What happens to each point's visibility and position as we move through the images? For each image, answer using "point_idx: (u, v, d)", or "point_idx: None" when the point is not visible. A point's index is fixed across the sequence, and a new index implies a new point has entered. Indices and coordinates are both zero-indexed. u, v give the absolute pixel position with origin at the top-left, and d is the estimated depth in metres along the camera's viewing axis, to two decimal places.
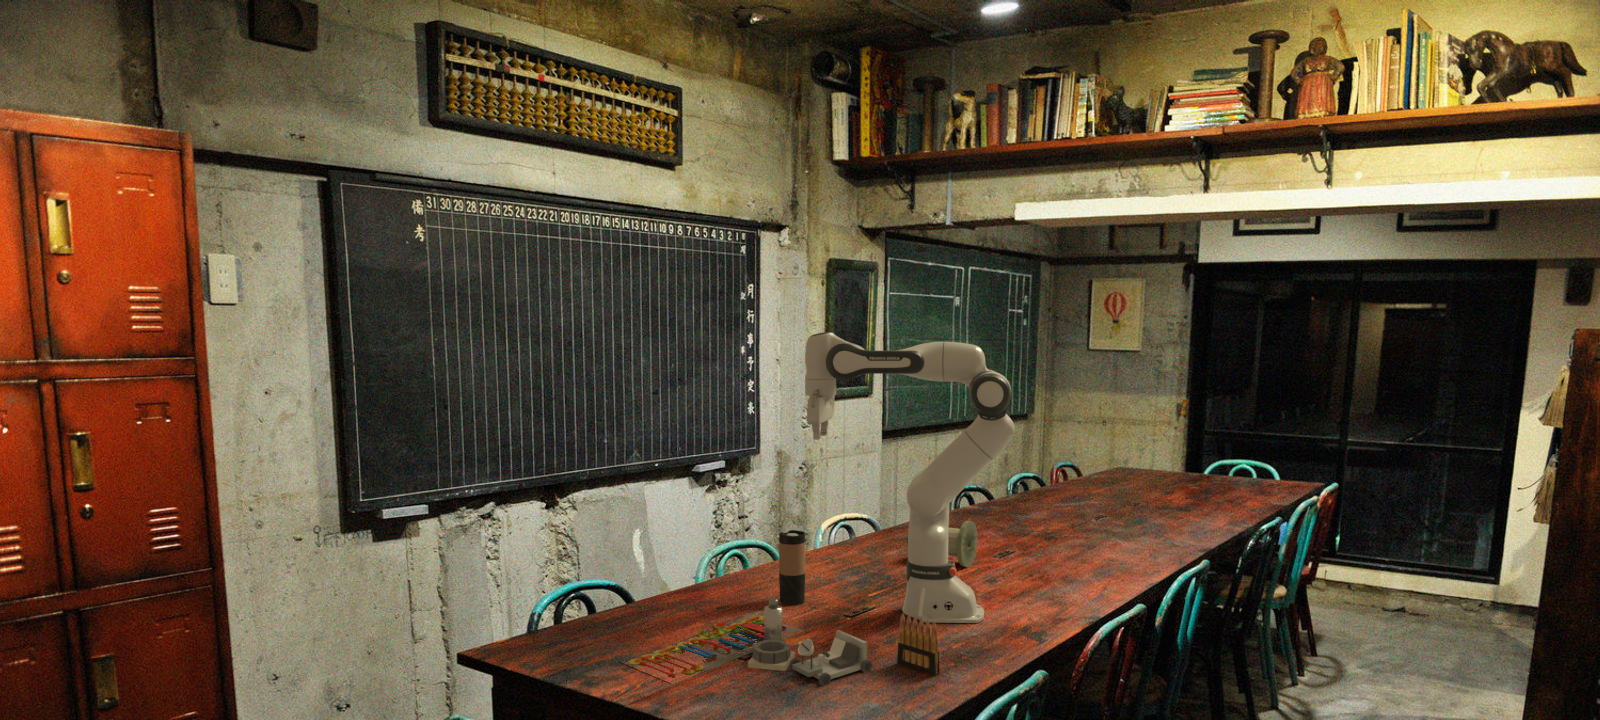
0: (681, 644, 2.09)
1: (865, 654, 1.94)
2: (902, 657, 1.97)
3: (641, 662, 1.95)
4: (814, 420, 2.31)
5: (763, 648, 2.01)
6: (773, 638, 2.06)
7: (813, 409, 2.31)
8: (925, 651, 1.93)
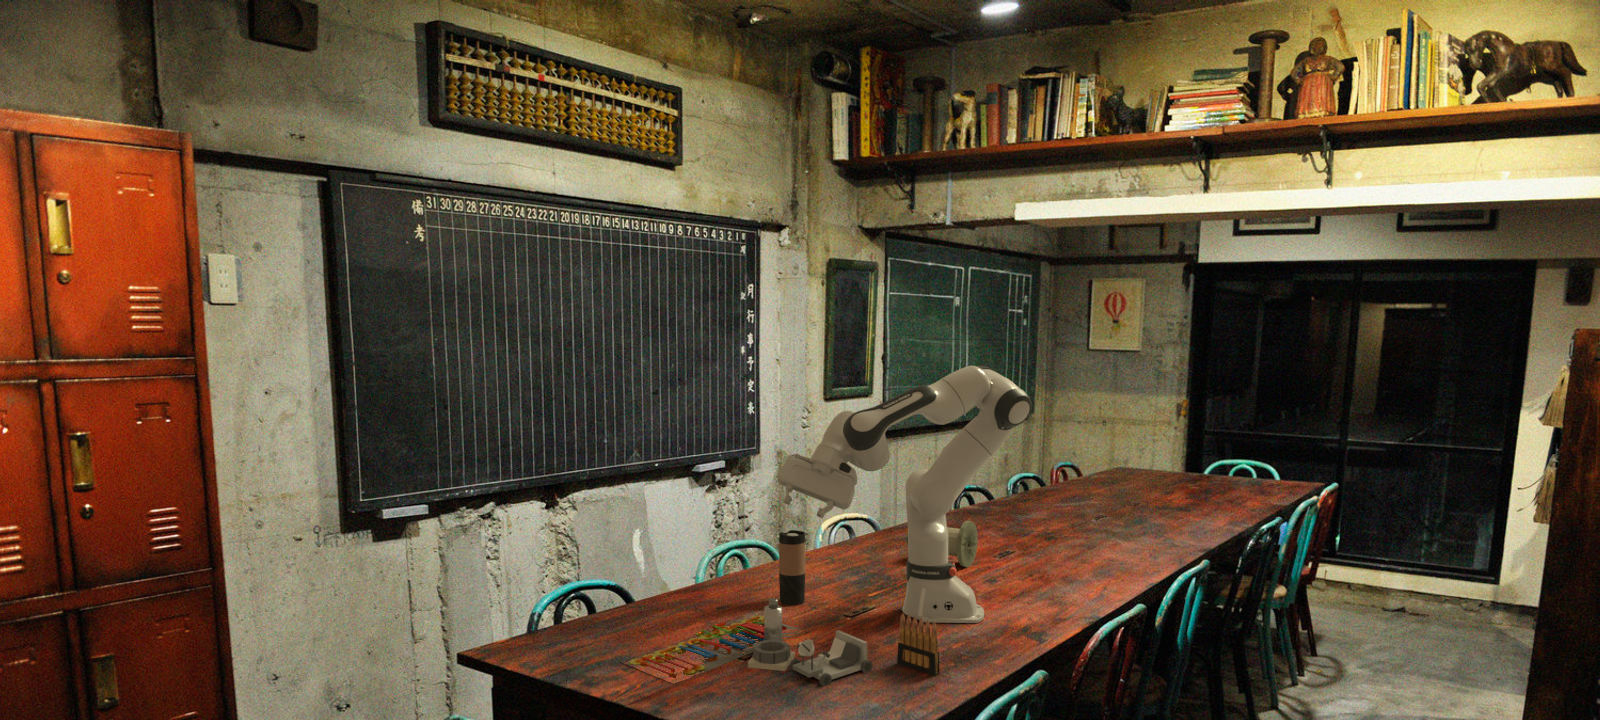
0: (682, 644, 2.08)
1: (865, 654, 1.94)
2: (902, 657, 1.97)
3: (642, 662, 1.95)
4: None
5: (763, 648, 2.01)
6: (773, 638, 2.06)
7: None
8: (925, 651, 1.93)
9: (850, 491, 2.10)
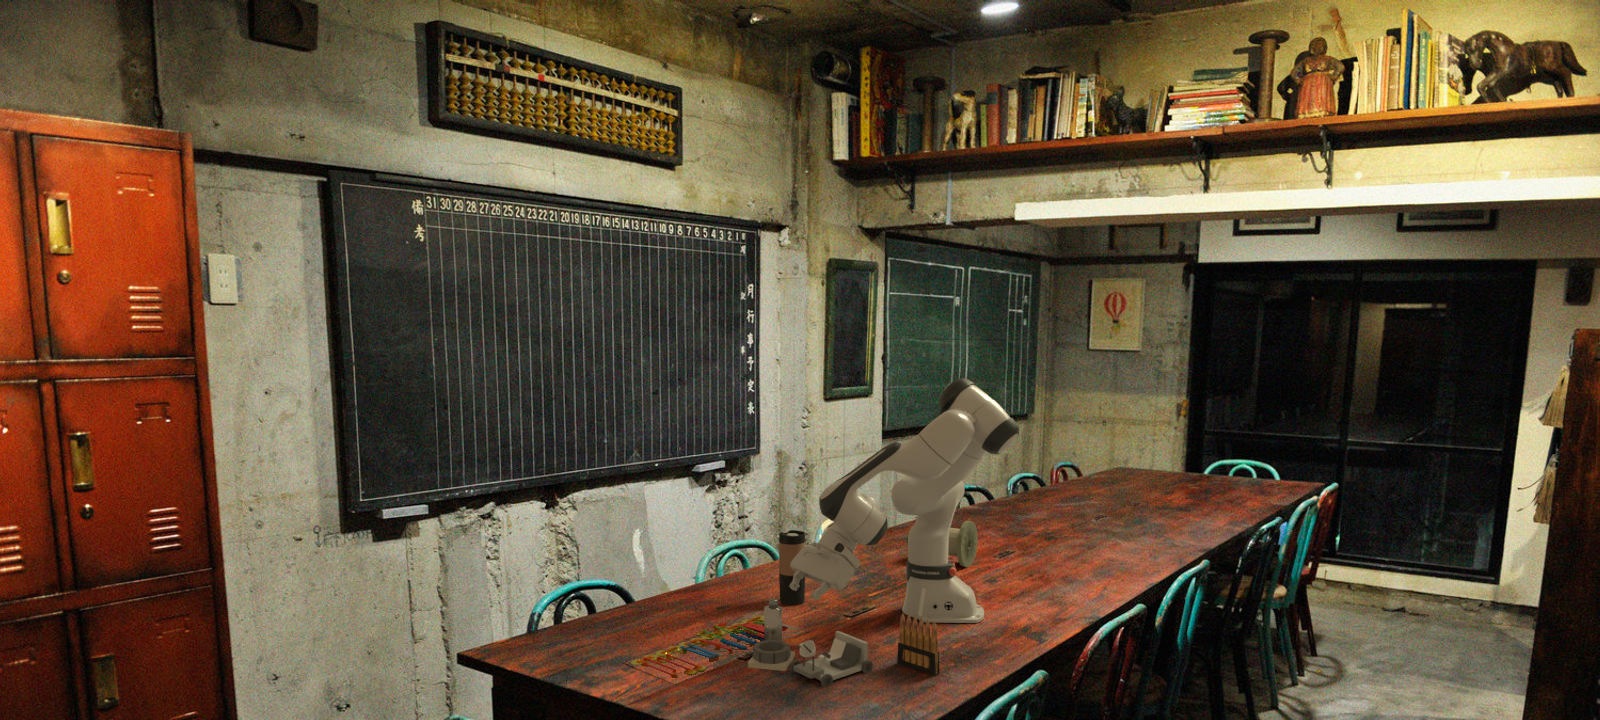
0: (683, 644, 2.08)
1: (866, 655, 1.93)
2: (902, 657, 1.97)
3: (643, 662, 1.95)
4: None
5: (763, 648, 2.01)
6: (773, 638, 2.06)
7: None
8: (925, 651, 1.93)
9: (839, 570, 2.06)
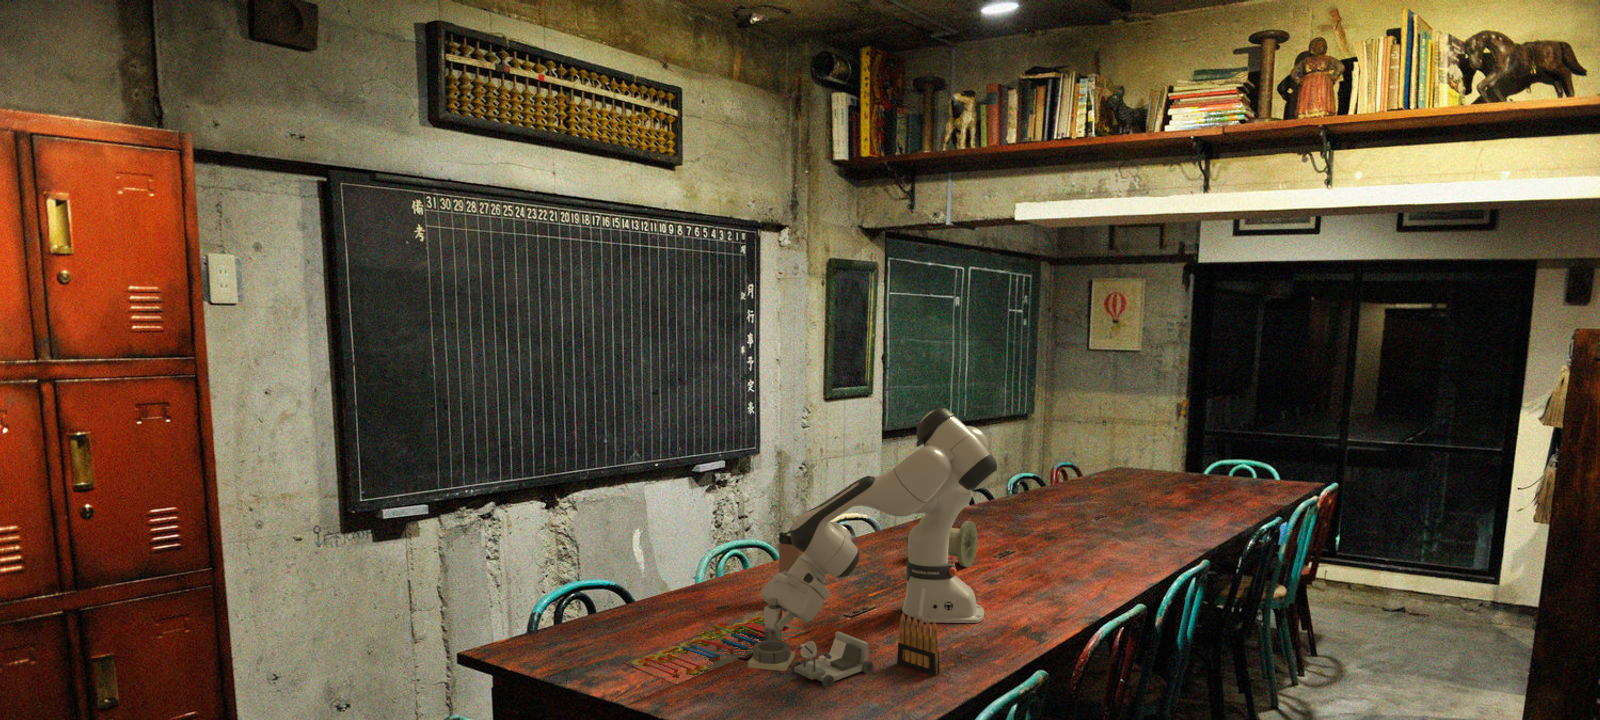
0: (684, 644, 2.08)
1: (866, 655, 1.93)
2: (902, 657, 1.97)
3: (645, 663, 1.95)
4: None
5: (763, 648, 2.01)
6: (773, 638, 2.06)
7: None
8: (925, 651, 1.93)
9: (807, 601, 2.02)
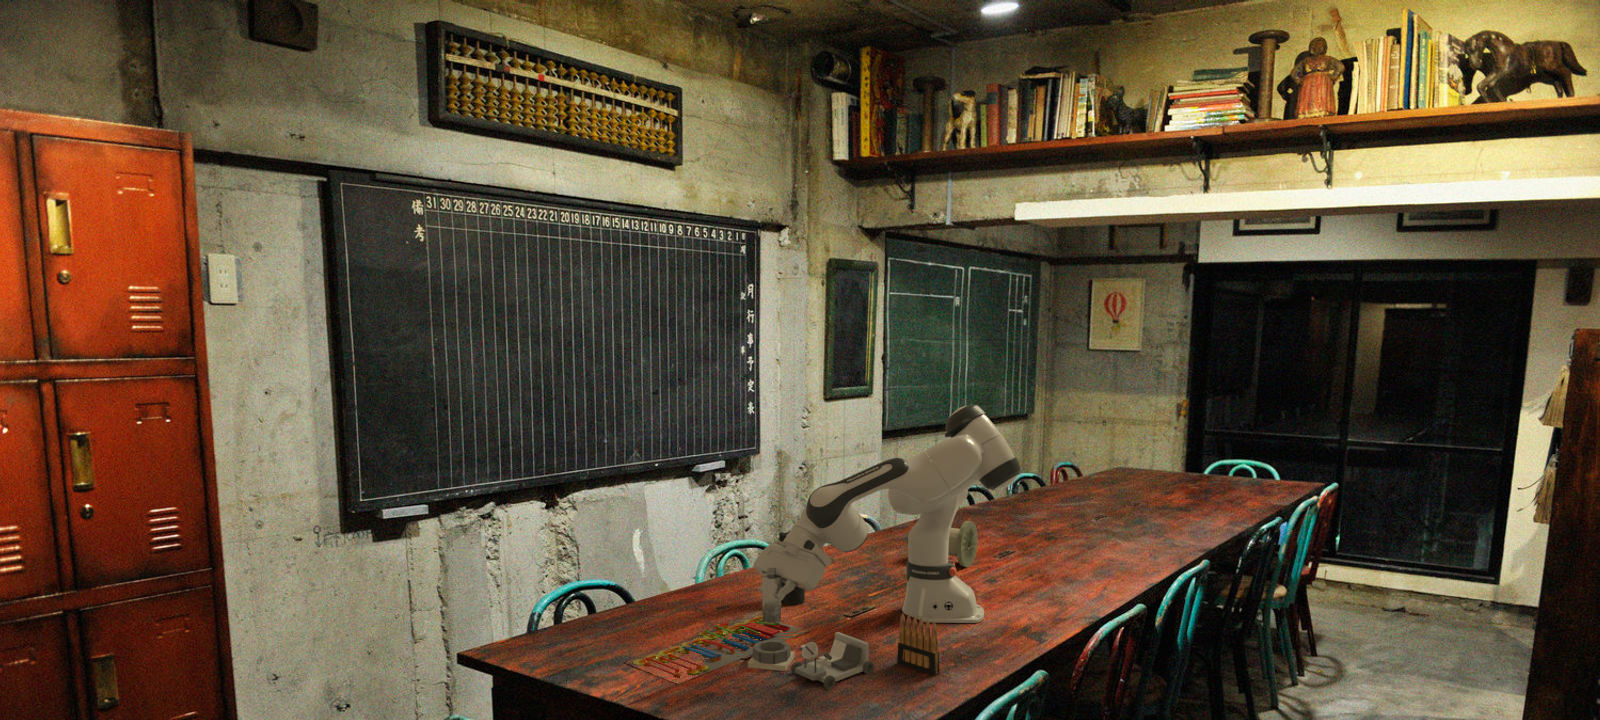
0: (685, 644, 2.08)
1: (867, 655, 1.93)
2: (902, 657, 1.97)
3: (646, 662, 1.95)
4: None
5: (763, 648, 2.01)
6: (773, 609, 1.96)
7: None
8: (925, 651, 1.93)
9: (811, 569, 1.93)
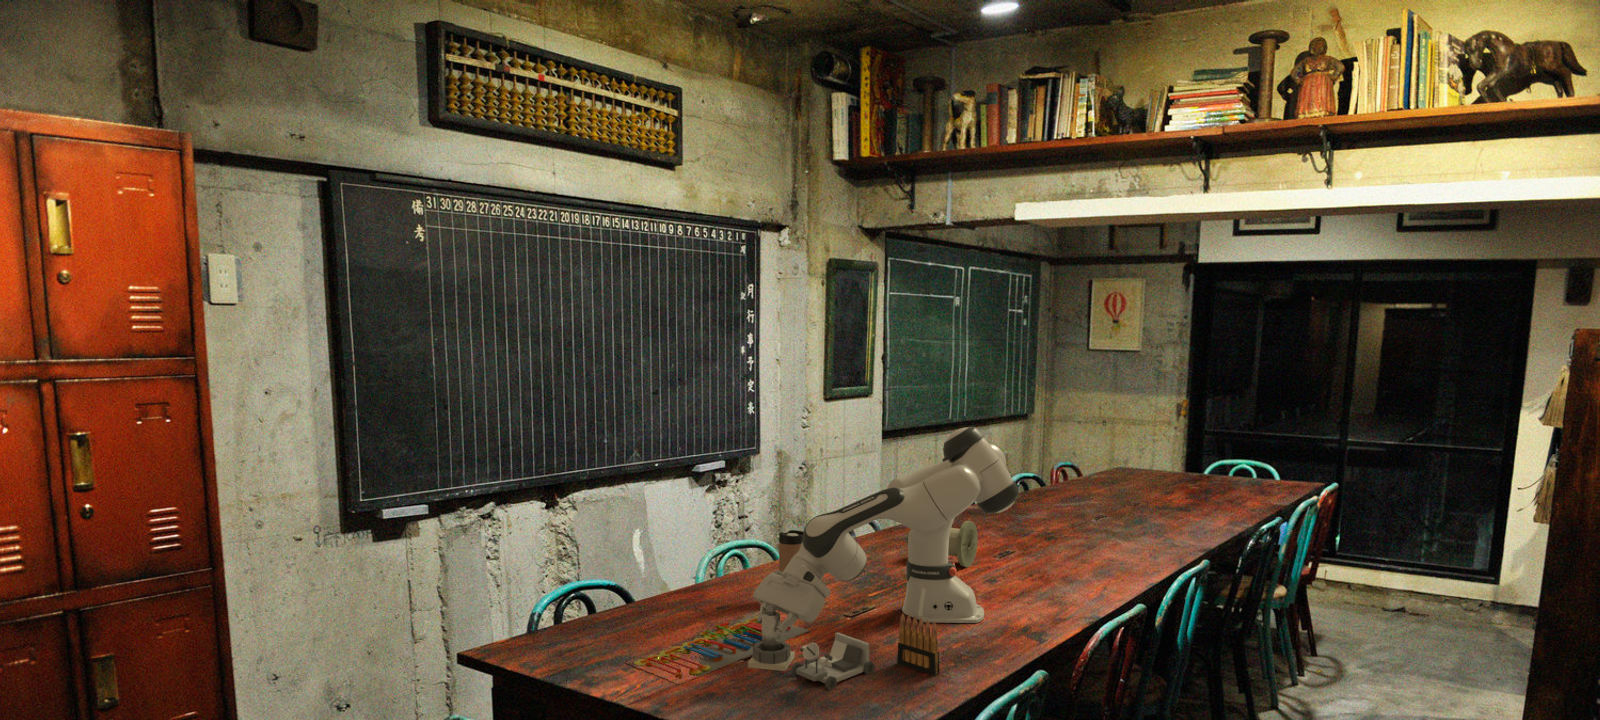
0: (686, 644, 2.08)
1: (867, 656, 1.93)
2: (902, 657, 1.97)
3: (647, 663, 1.95)
4: None
5: None
6: (773, 646, 1.97)
7: None
8: (925, 651, 1.93)
9: (810, 601, 1.94)
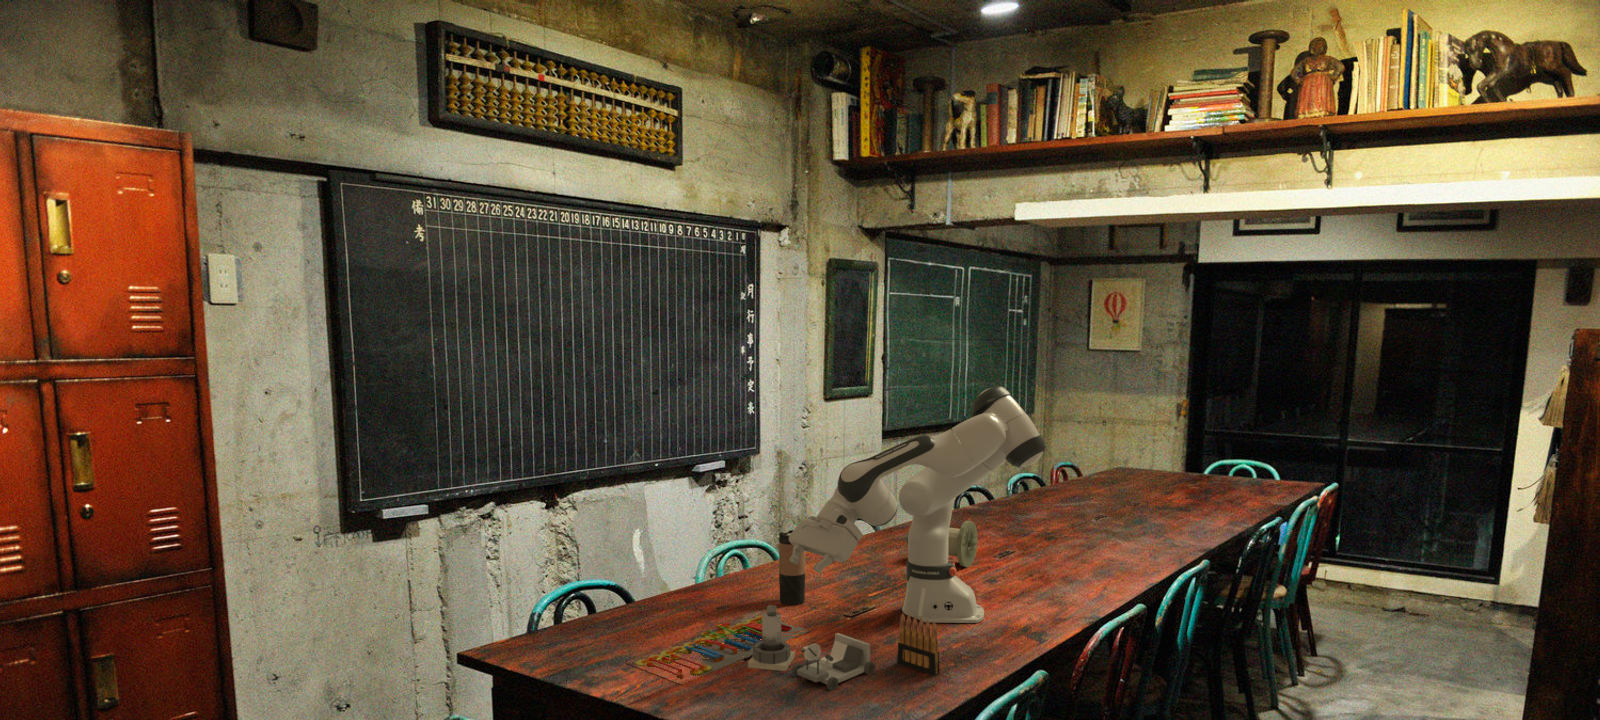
0: (687, 644, 2.08)
1: (868, 656, 1.93)
2: (902, 657, 1.97)
3: (648, 663, 1.95)
4: None
5: None
6: (773, 646, 1.97)
7: None
8: (925, 651, 1.93)
9: (843, 542, 2.04)
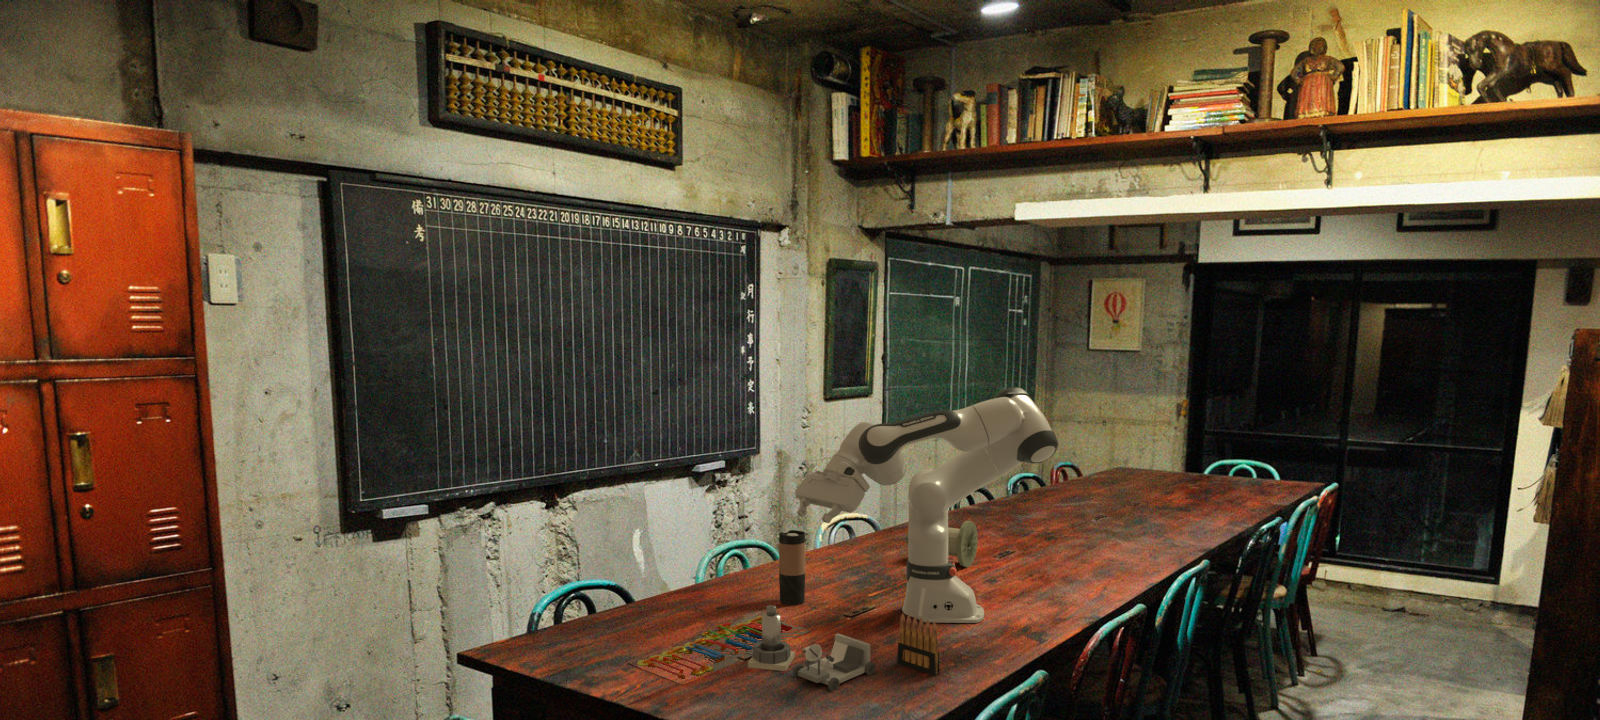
0: (688, 645, 2.08)
1: (869, 656, 1.92)
2: (902, 657, 1.97)
3: (650, 663, 1.95)
4: None
5: None
6: (773, 646, 1.97)
7: None
8: (925, 651, 1.93)
9: (851, 492, 2.06)
